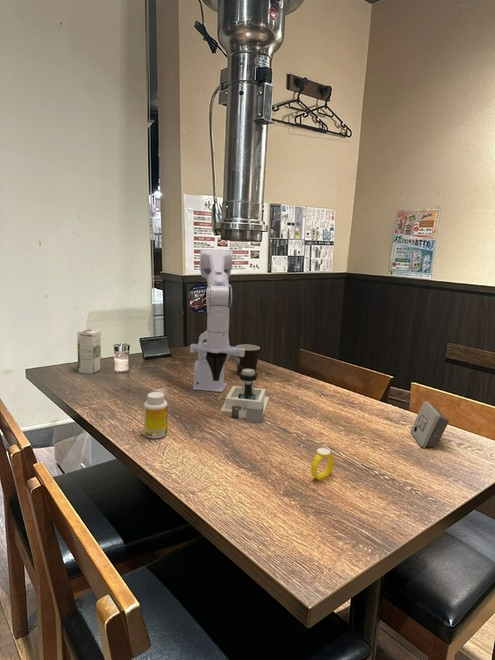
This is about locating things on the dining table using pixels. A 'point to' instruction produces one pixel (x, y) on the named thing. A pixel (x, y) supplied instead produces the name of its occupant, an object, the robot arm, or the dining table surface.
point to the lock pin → (240, 412)
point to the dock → (247, 403)
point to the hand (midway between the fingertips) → (216, 379)
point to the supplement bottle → (155, 415)
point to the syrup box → (89, 351)
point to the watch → (320, 454)
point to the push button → (248, 384)
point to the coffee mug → (248, 358)
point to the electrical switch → (429, 426)
